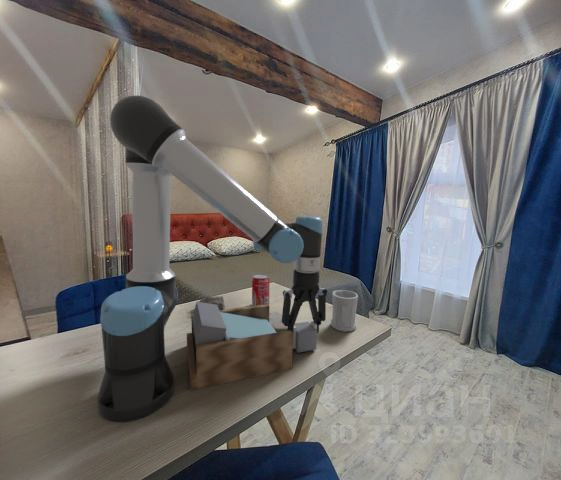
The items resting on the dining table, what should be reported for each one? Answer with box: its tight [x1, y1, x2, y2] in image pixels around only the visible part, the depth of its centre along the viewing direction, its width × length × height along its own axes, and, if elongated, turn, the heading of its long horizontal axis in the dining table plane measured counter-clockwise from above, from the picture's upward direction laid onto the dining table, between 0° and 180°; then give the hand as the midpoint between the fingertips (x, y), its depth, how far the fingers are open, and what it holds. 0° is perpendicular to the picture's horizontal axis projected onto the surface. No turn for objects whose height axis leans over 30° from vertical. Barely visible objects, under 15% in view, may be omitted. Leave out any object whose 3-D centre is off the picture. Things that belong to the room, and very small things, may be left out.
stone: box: [269, 311, 288, 332], centre depth 96 cm, size 15×11×3 cm
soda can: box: [251, 273, 270, 306], centre depth 113 cm, size 7×7×13 cm
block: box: [294, 321, 318, 354], centre depth 82 cm, size 6×6×6 cm
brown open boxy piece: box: [186, 304, 293, 391], centre depth 76 cm, size 26×20×10 cm
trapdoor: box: [192, 301, 277, 346], centre depth 76 cm, size 23×17×5 cm
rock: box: [198, 295, 225, 310], centre depth 108 cm, size 13×9×6 cm, turn 43°
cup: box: [330, 289, 359, 333], centre depth 95 cm, size 10×9×12 cm
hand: (302, 344), depth 82 cm, fingers closed on block, 6 cm apart
